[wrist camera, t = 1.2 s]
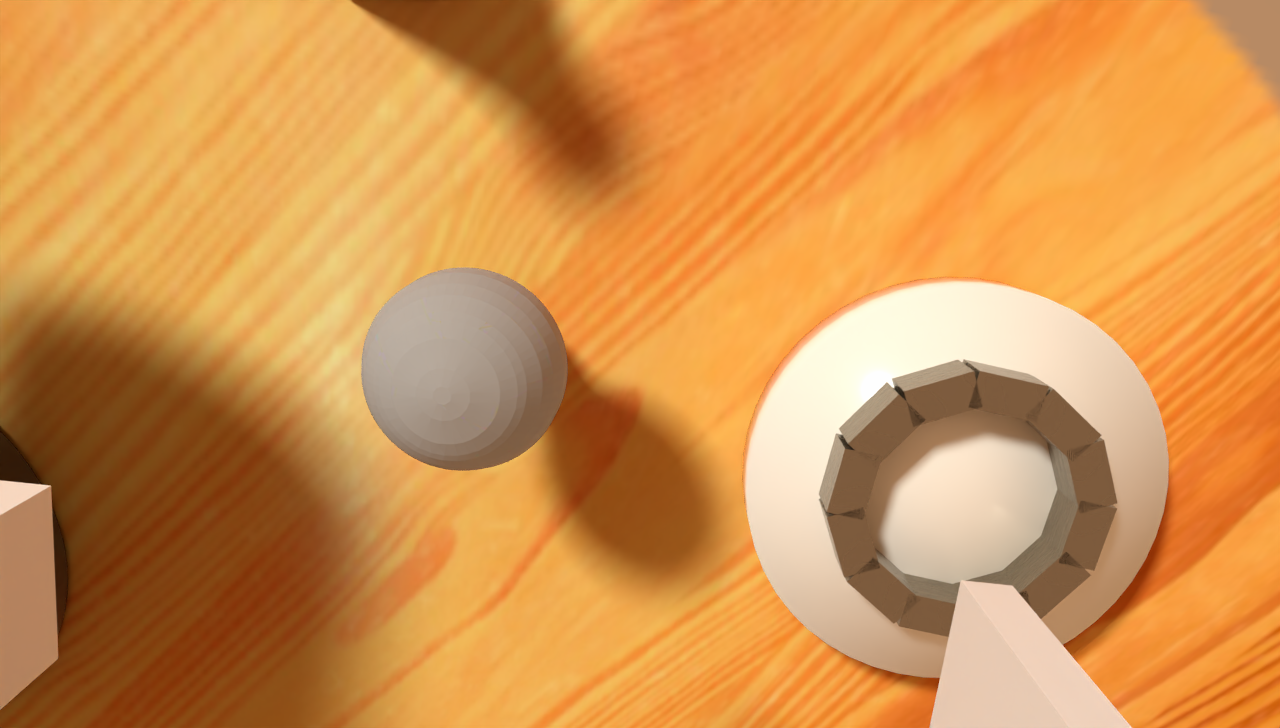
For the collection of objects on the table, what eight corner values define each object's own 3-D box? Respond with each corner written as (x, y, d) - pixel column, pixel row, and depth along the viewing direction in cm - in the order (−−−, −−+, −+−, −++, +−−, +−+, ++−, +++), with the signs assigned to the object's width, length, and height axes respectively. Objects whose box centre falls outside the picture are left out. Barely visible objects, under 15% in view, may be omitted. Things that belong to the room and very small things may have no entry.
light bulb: (569, 411, 33) (528, 523, 23) (419, 375, 32) (314, 472, 23) (604, 263, 31) (576, 314, 22) (449, 225, 31) (350, 259, 21)
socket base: (702, 604, 34) (704, 631, 32) (798, 236, 31) (807, 242, 29) (1064, 682, 34) (1088, 714, 32) (1196, 326, 31) (1231, 338, 29)
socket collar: (793, 582, 32) (800, 604, 30) (863, 336, 30) (874, 347, 28) (1041, 636, 32) (1060, 661, 30) (1128, 396, 30) (1153, 409, 28)
